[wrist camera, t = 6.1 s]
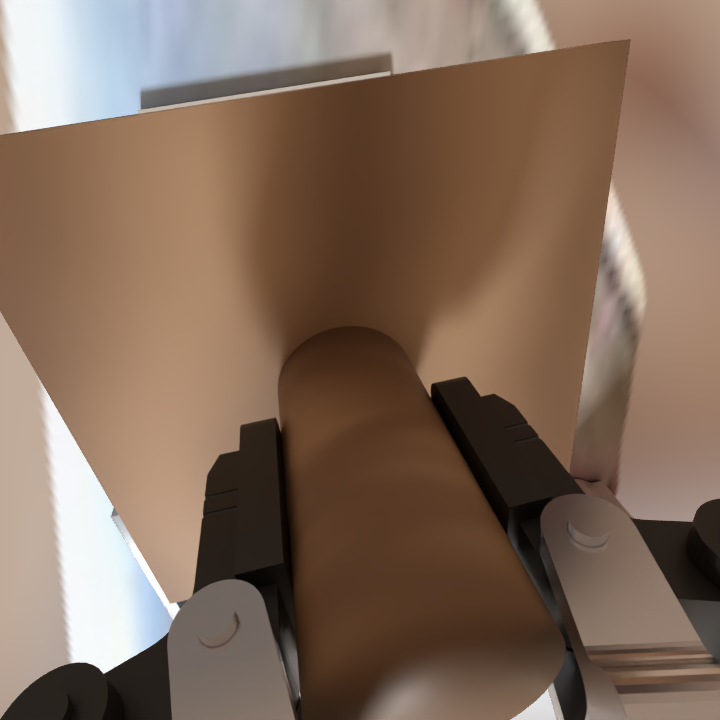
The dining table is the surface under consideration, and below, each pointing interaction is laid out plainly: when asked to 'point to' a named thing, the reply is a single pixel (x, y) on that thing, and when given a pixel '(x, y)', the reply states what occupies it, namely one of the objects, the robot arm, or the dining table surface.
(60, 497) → the dining table surface
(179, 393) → the lid
